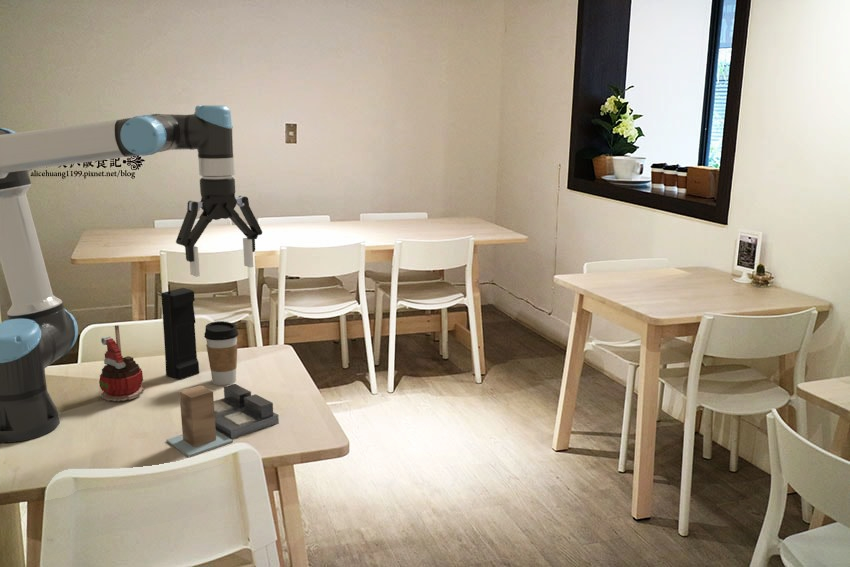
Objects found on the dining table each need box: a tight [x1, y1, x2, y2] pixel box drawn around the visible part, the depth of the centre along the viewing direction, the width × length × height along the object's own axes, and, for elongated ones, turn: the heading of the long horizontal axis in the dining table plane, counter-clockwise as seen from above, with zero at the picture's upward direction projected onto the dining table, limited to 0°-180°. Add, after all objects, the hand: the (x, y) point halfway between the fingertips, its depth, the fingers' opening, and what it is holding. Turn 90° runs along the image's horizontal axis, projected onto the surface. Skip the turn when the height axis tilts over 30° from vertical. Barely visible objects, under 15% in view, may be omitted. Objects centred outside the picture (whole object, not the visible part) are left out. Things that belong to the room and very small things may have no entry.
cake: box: [98, 324, 145, 402], centre depth 185 cm, size 11×9×18 cm
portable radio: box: [160, 284, 200, 380], centre depth 199 cm, size 8×6×25 cm
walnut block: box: [178, 384, 216, 447], centre depth 162 cm, size 5×5×11 cm
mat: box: [166, 430, 234, 458], centre depth 163 cm, size 10×10×1 cm
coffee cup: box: [204, 320, 239, 386], centre depth 195 cm, size 8×8×15 cm
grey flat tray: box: [214, 383, 280, 440], centre depth 174 cm, size 17×12×5 cm
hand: (222, 270), depth 174 cm, fingers open, 13 cm apart
